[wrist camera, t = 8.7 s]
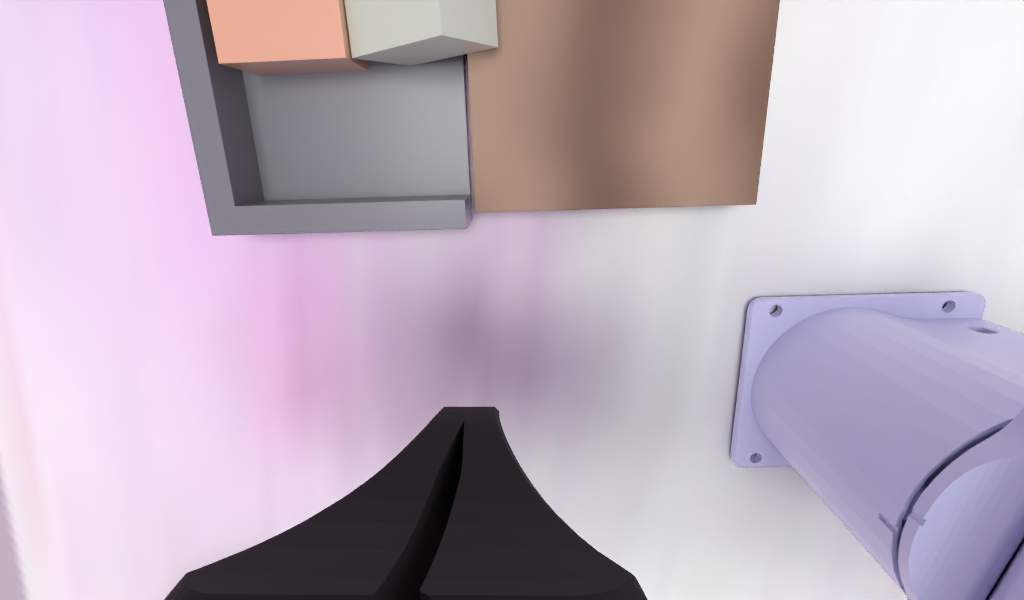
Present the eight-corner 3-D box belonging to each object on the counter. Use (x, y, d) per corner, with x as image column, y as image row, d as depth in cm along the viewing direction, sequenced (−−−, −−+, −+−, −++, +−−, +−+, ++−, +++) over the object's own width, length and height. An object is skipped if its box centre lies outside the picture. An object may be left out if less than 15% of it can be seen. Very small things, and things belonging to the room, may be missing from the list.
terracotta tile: (354, -59, 16) (326, -96, 14) (368, 70, 18) (345, 57, 15) (236, -54, 16) (188, -89, 14) (258, 75, 18) (218, 63, 15)
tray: (446, -266, 15) (434, -344, 13) (472, 219, 19) (466, 228, 17) (160, -254, 15) (94, -330, 13) (249, 225, 20) (212, 235, 17)
